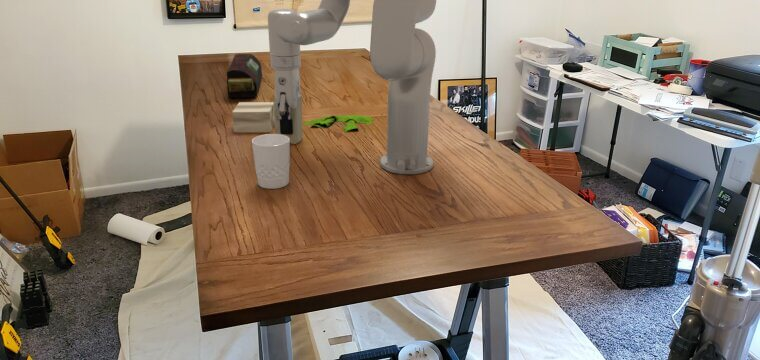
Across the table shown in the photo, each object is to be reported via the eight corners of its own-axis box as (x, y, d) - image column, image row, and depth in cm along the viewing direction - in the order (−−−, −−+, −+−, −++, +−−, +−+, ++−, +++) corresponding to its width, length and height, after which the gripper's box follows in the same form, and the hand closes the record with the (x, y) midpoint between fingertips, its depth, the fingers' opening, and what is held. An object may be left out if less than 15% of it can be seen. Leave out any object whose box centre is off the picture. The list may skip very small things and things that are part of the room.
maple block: (270, 133, 155) (269, 112, 153) (234, 133, 155) (232, 111, 152) (275, 122, 164) (274, 102, 162) (240, 122, 164) (239, 102, 161)
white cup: (275, 173, 128) (272, 131, 124) (299, 182, 124) (297, 139, 120) (247, 183, 122) (244, 140, 119) (271, 193, 118) (268, 148, 114)
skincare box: (275, 141, 148) (272, 96, 143) (282, 136, 152) (280, 92, 147) (297, 144, 146) (294, 98, 141) (304, 139, 150) (302, 94, 145)
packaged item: (256, 102, 183) (254, 72, 179) (225, 103, 182) (223, 72, 178) (263, 75, 219) (261, 49, 215) (237, 76, 218) (235, 50, 214)
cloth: (382, 119, 170) (382, 112, 169) (360, 142, 150) (360, 134, 149) (318, 113, 175) (318, 105, 174) (289, 134, 155) (289, 126, 154)
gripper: (293, 68, 133) (297, 141, 140) (306, 55, 148) (308, 121, 155) (262, 68, 133) (267, 140, 140) (278, 54, 149) (281, 120, 156)
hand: (289, 129), depth 148 cm, fingers closed on skincare box, 5 cm apart
